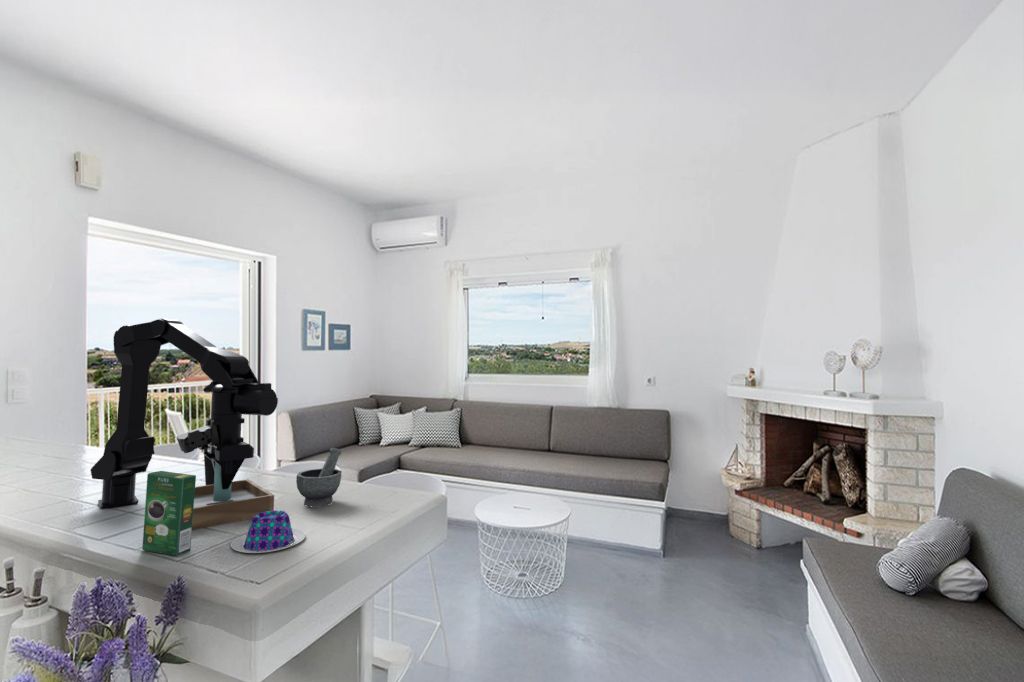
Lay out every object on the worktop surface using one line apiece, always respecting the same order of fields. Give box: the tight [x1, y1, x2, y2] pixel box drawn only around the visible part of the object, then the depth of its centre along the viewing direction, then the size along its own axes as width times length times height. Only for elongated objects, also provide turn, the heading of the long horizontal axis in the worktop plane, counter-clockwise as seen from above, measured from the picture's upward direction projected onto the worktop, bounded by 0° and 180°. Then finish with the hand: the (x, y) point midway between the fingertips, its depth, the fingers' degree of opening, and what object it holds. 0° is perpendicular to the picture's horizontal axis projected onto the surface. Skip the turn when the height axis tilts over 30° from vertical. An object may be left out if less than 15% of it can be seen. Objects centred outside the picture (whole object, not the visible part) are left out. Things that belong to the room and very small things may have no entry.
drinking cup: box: [203, 447, 215, 485], centre depth 119 cm, size 8×8×20 cm
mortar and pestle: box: [295, 447, 342, 508], centre depth 111 cm, size 11×9×12 cm
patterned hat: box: [230, 509, 306, 554], centre depth 86 cm, size 12×12×5 cm
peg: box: [213, 462, 232, 502], centre depth 101 cm, size 3×3×8 cm
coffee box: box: [142, 470, 197, 557], centre depth 82 cm, size 8×3×13 cm, turn 75°
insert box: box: [192, 478, 275, 531], centre depth 103 cm, size 18×16×4 cm
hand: (222, 487), depth 101 cm, fingers closed on peg, 3 cm apart
